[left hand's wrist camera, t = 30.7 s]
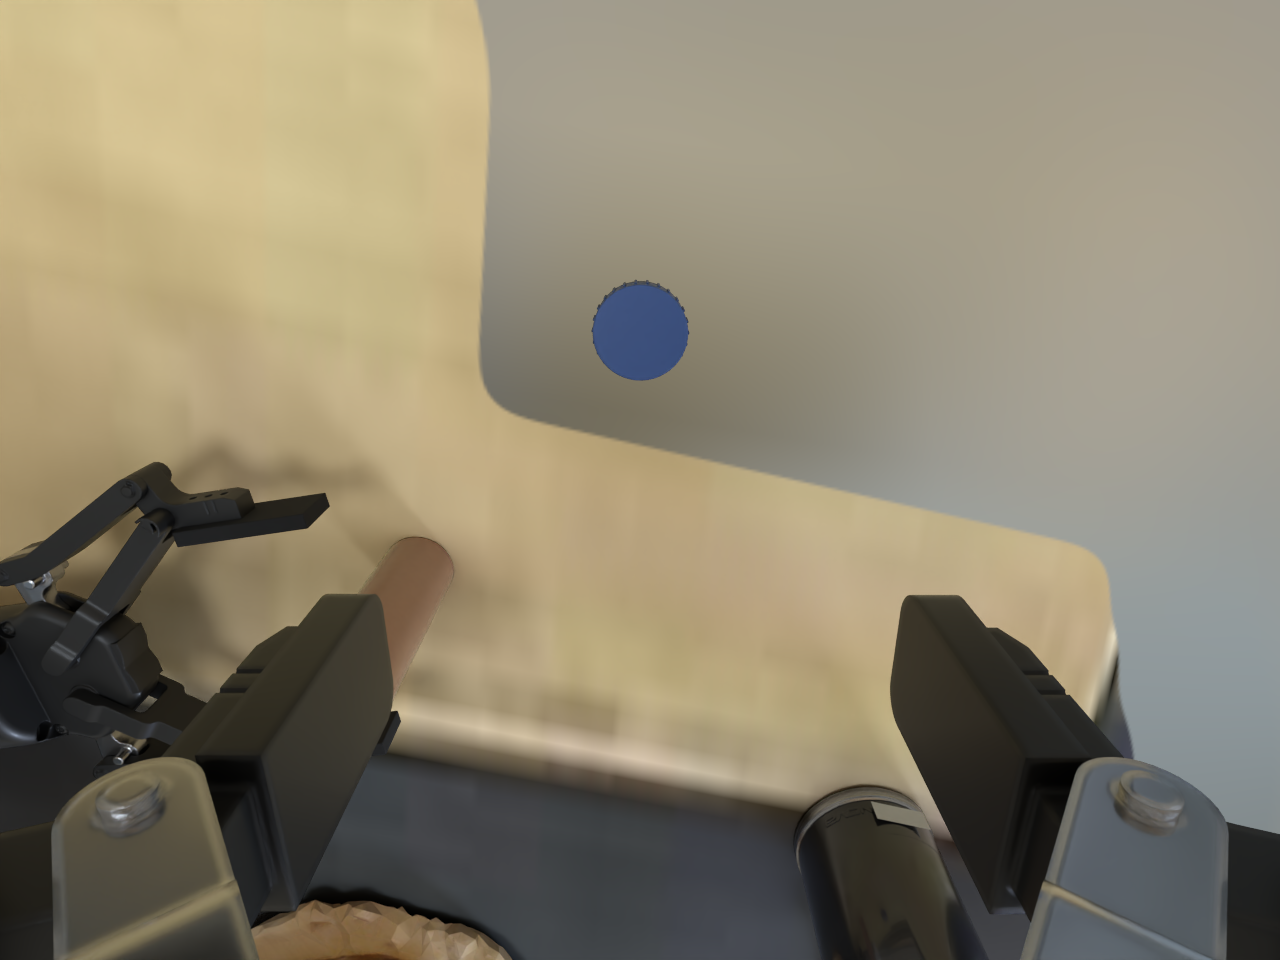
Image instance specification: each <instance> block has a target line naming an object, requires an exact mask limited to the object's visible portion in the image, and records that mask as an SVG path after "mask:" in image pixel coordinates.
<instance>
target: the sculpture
mask: <svg viewBox="0 0 1280 960" xmlns="http://www.w3.org/2000/svg"><path fill="white" fill-rule="evenodd" d="M251 931H252V935H253V938H254V942H255V945H256V949H257V952H258V956H259V959H260V960H512V958H511V957H510V956H509V954H508V953H507V952H506V951H505V949H504V948H503V947H501V946H499V945H498V944H496V943H495V942H494V941H493V940H492V939H490V938H489V937H488V936H486V935H485V934H484V933H482V932H480V931H477V930H475V929H473V928H470V927H467V926H465V925H463V924H453V923H448V924H444V923H443V922H441V921H440V920H439V919H438V918H434V919H432V920H429V919H427V918H426V917H424V916H421V915H417V914H416V915H414V916H411V915H409V914H408V913H407V912H406V911H405V910H404V908H403V907H400V908H398V909H396V908H394V907H387V906H383V905H381V904H378V903H375V902H372V901H351V902H346V903H343V904H341V905H340V903H339V904H329V903H325V902H322V901H318V900H313V901H310V902H307V903H304V904H301V905H299V906H298V908H297V910H296V911H291V912H289V913H280V914H278V915H276V916H274V917H272V918H271V919H269V920H267V921H265V922H263V923H261V924H260V925H258V926H256V927H254V928H252V929H251Z"/></svg>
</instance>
